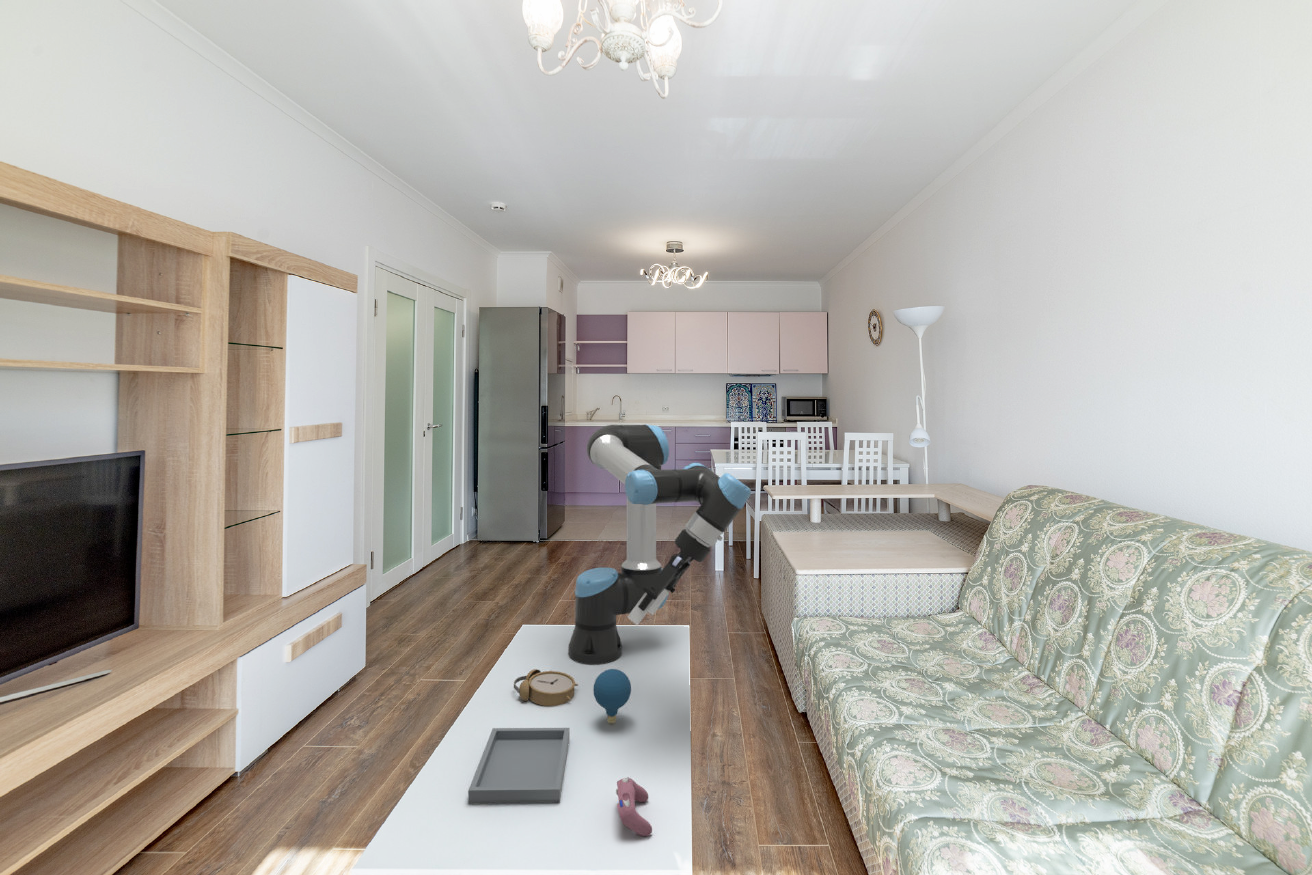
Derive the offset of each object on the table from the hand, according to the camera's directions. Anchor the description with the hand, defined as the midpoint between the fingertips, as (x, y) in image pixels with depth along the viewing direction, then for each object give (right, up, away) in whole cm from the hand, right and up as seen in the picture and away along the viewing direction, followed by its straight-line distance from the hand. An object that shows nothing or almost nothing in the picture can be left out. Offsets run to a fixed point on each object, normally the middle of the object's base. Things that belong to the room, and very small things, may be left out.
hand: (640, 615), depth 131 cm
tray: (-22, -25, -15) cm, 37 cm away
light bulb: (-7, -25, +2) cm, 26 cm away
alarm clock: (-24, -24, +15) cm, 37 cm away
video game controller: (-1, -27, -28) cm, 39 cm away
